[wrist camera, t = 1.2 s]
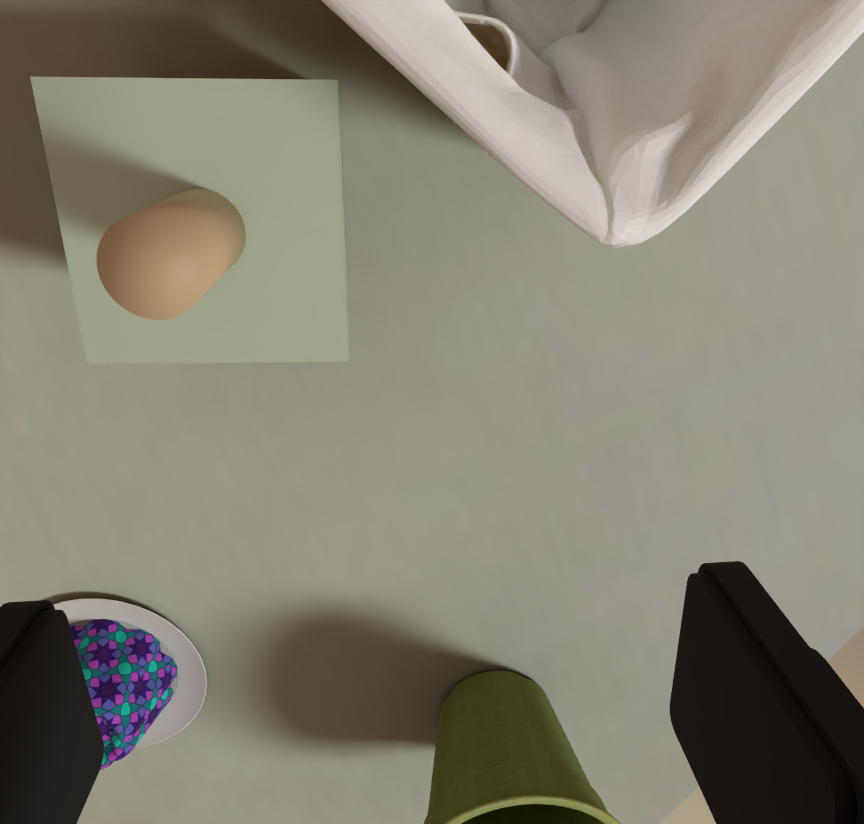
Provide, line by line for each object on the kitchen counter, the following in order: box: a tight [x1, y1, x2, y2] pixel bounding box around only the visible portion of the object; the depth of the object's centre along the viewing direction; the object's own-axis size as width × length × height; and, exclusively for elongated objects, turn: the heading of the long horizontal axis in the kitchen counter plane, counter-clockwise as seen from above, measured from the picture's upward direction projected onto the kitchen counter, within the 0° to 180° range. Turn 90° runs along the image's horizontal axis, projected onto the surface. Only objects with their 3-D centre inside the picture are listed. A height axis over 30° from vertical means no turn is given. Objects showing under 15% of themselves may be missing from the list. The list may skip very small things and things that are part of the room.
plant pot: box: [424, 671, 620, 824], centre depth 41 cm, size 12×12×11 cm
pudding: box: [53, 599, 207, 770], centre depth 42 cm, size 12×12×5 cm
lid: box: [30, 77, 350, 364], centre depth 24 cm, size 10×10×8 cm
